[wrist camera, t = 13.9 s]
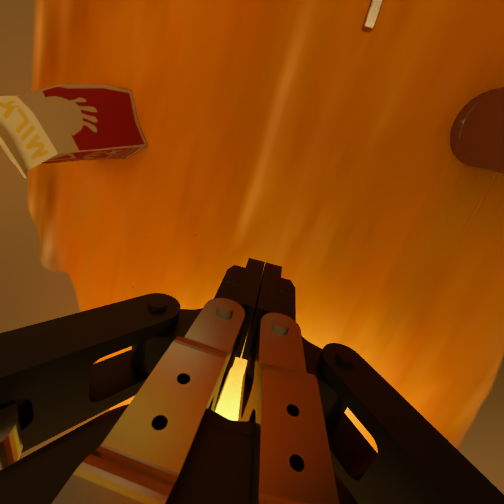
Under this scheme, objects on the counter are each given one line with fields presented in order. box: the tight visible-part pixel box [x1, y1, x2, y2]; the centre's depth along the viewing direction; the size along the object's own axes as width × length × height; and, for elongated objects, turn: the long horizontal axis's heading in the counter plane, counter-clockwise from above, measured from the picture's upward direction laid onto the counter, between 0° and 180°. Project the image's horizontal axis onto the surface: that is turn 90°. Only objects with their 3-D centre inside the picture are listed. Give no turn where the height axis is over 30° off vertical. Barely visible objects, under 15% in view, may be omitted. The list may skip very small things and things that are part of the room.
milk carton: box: [0, 85, 147, 178], centre depth 33 cm, size 9×9×20 cm
